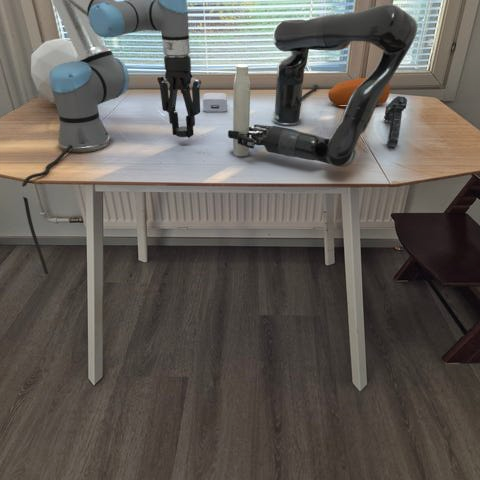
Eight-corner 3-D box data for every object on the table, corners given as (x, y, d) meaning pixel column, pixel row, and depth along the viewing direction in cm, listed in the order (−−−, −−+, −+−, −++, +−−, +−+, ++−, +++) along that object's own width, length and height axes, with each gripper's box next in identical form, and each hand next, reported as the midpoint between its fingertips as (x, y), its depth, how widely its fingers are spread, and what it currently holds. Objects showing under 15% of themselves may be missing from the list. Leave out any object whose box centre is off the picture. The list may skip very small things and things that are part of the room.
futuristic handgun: (389, 146, 153) (397, 104, 149) (399, 145, 125) (409, 94, 122) (379, 144, 154) (386, 103, 150) (386, 144, 126) (395, 93, 122)
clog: (332, 114, 163) (392, 106, 164) (333, 87, 157) (396, 78, 158) (323, 105, 173) (381, 98, 174) (324, 79, 167) (383, 71, 167)
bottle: (251, 153, 125) (254, 65, 110) (240, 157, 122) (241, 68, 108) (241, 149, 127) (242, 63, 113) (229, 153, 125) (229, 65, 110)
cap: (185, 131, 131) (184, 125, 130) (193, 135, 128) (193, 129, 127) (173, 134, 128) (172, 128, 127) (180, 138, 126) (180, 132, 124)
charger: (226, 100, 170) (227, 111, 158) (204, 100, 170) (203, 111, 158) (226, 88, 168) (226, 99, 155) (204, 88, 167) (202, 99, 155)
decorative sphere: (41, 71, 170) (18, 23, 146) (103, 69, 174) (90, 22, 151) (41, 120, 163) (17, 77, 140) (106, 117, 167) (93, 75, 144)
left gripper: (143, 55, 115) (153, 134, 128) (198, 60, 109) (202, 143, 123) (157, 50, 121) (165, 127, 134) (210, 55, 115) (213, 135, 128)
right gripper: (296, 121, 118) (244, 112, 125) (275, 136, 108) (220, 125, 115) (293, 146, 123) (244, 135, 129) (273, 163, 112) (220, 150, 119)
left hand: (183, 134), depth 128 cm, fingers closed on cap, 4 cm apart
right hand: (233, 130), depth 122 cm, fingers closed on bottle, 4 cm apart
